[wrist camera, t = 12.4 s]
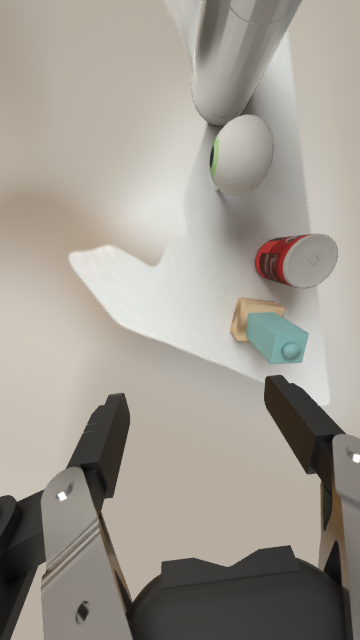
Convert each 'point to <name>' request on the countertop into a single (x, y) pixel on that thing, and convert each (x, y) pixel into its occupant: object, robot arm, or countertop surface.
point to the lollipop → (241, 155)
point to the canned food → (297, 259)
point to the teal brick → (276, 338)
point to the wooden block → (247, 307)
